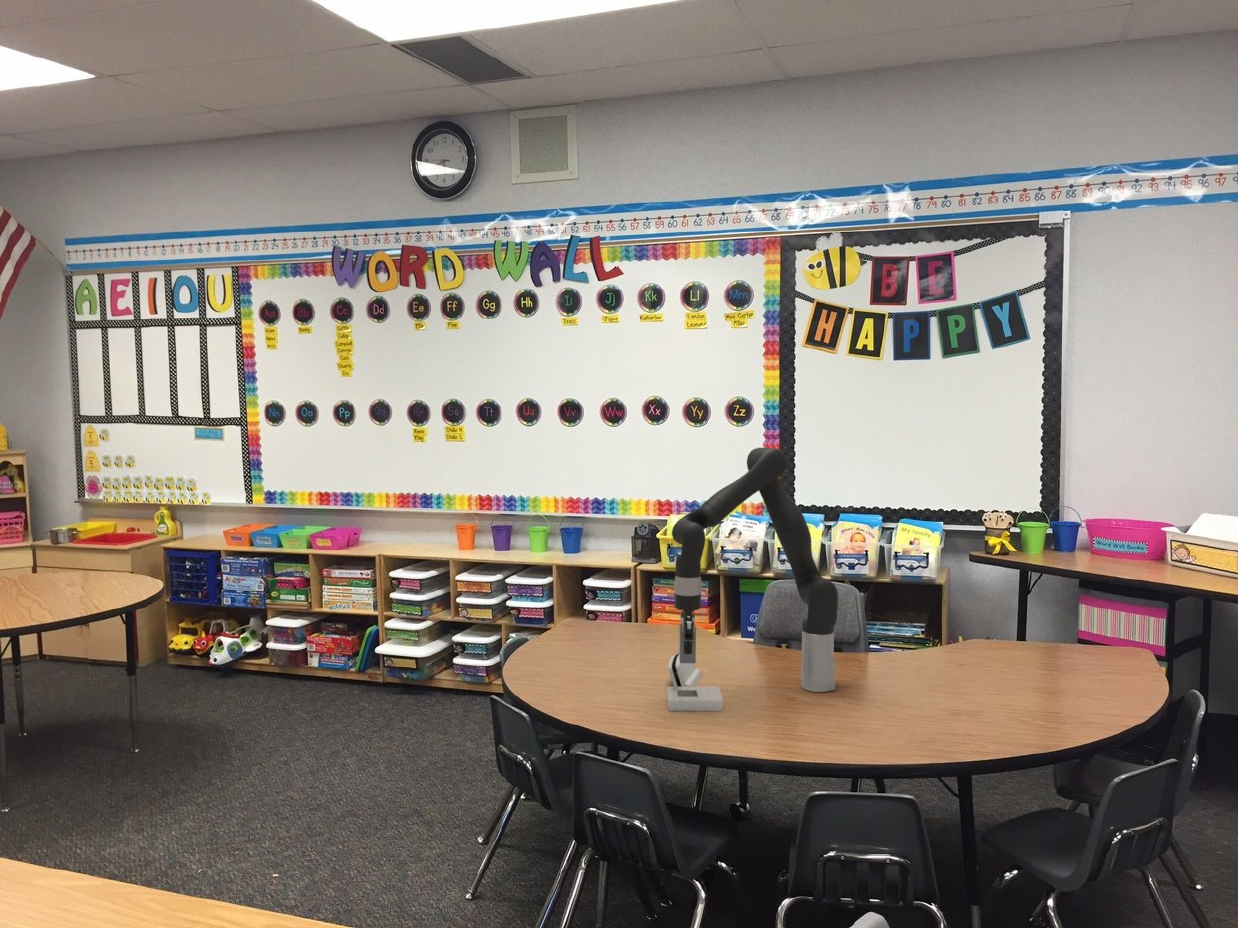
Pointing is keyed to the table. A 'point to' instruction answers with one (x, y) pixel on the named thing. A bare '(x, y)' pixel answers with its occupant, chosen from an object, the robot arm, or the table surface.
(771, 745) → the table surface
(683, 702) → the square hole plate
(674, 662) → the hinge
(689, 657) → the square peg
